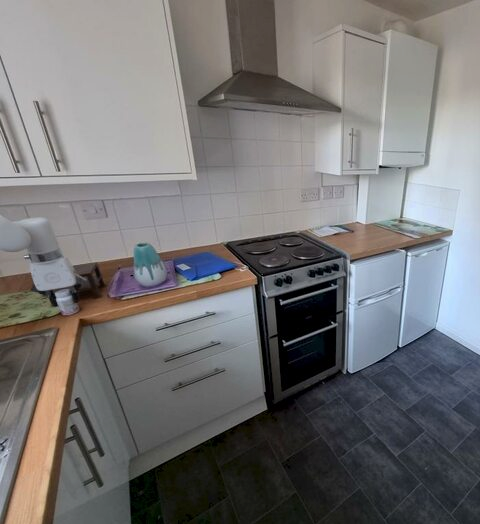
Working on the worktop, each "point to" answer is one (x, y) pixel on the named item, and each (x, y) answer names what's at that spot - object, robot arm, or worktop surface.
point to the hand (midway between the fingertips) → (67, 302)
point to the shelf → (88, 278)
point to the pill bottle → (66, 302)
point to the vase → (148, 266)
